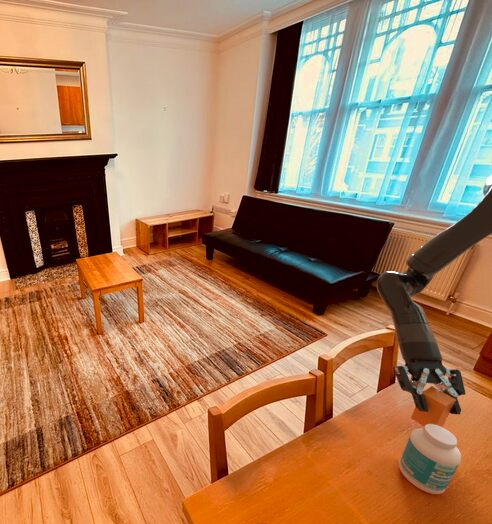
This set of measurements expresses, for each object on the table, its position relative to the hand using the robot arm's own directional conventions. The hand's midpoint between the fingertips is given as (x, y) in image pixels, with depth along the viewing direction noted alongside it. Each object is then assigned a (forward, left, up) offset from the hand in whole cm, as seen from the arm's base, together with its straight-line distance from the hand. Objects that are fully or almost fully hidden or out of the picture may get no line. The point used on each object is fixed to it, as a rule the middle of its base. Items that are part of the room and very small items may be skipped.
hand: (439, 412), depth 67 cm
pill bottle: (+10, +11, -8) cm, 17 cm away
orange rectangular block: (0, -2, -5) cm, 6 cm away
